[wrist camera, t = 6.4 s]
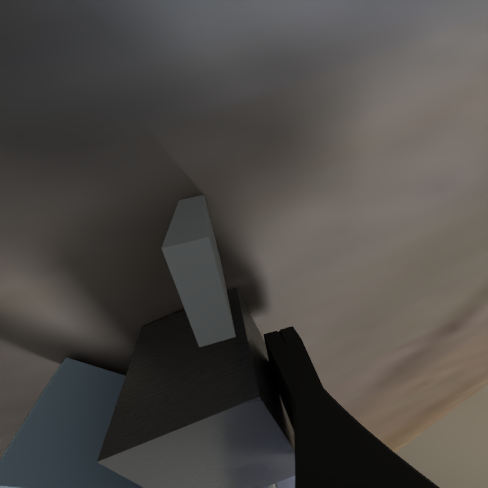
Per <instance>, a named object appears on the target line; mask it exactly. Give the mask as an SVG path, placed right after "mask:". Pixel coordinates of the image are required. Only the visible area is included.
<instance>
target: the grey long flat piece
mask: <svg viewBox="0 0 488 488" xmlns="http://www.w3.org/2000/svg"><path fill="white" fill-rule="evenodd" d="M161 249H162V251H163V254H164V257H165V259H166V262H167V265H168V267H169V270H170V272H171V275H172V278H173V280H174V283H175V285H176V288H177V291H178V293H179V296H180V298H181V301H182V304H183V306H184V309H185V311H186V314H187V317H188V319H189V322H190V324H191V327H192V330H193V332H194V335H195V337H196V340H197V343H198V345H199V347H202V346H206V345H209V344H213V343H216V342H220V341H223V340H227V339H230V338H234V337H236V335H235V330H234V325H233V320H232V315H231V310H230V305H229V300H228V295H227V290H226V285H225V280H224V275H223V270H222V265H221V259H220V255H219V252H218V248H217V244H216V240H215V236H214V232H213V228H212V224H211V221H210V217H209V213H208V209H207V205H206V201H205V197H204V195H200V196H195V197H191V198H186V199H182V200H179V201H178V204H177V207H176V210H175V212H174V215H173V218H172V221H171V223H170V226H169V229H168V231H167V234H166V237H165V240H164V242H163V245H162V248H161ZM268 488H278V485H277V483H275V484H272V485H270V486H268Z"/></svg>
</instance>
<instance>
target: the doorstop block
mask: <svg viewBox="0 0 488 488" xmlns="http://www.w3.org/2000/svg"><path fill="white" fill-rule="evenodd" d="M227 295H228V300H229V305H230V310H231V315H232V320H233V325H234V330H235V335H236V337H234V338H230V339H227V340H223V341H220V342H216V343H213V344H209V345H206V346H202V347H199V345H198V343H197V340H196V337H195V335H194V332H193V330H192V327H191V324H190V322H189V319H188V317H187V314H186V311H185V309H184V310H182V311H179V312H177V313H175V314H172V315H170V316H167V317H165V318H163V319H160V320H158V321H155V322H153V323H151V324H148V325H146V326H143V327H142V329H141V332H140V335H139V338H138V341H137V344H136V347H135V350H134V353H133V356H132V359H131V362H130V365H129V368H128V371H127V374H126V377H125V380H124V383H123V386H122V389H121V392H120V395H119V397H118V400H117V403H116V406H115V409H114V412H113V415H112V418H111V421H110V424H109V427H108V430H107V433H106V436H105V439H104V442H103V445H102V448H101V451H100V454H99V457H98V460H97V462H98V463H99V464H101V465H103V466H105V467H107V468H109V469H110V470H112V471H114V472H116V473H118V474H120V475H121V476H123V477H125V478H127V479H129V480H131V481H132V482H134V483H136V484H138V485H140V486H142V487H143V488H265V487H267V486H270V485H272V484H275V483H277V482H280V481H283V480H285V479H288V478H290V477H293V476H295V442H294V430H293V428H292V425H291V423H290V420H289V418H288V415H287V413H286V410H285V408H284V405H283V403H282V400H281V398H280V395H279V392H278V389H277V386H276V384H275V380H274V377H273V374H272V371H271V367H270V364H269V360H268V355H267V350H266V344H265V342H264V340H263V338H262V336H261V334H260V332H259V330H258V329H257V327H256V325H255V323H254V321H253V319H252V317H251V315H250V313H249V311H248V309H247V307H246V305H245V303H244V301H243V299H242V297H241V295H240V293H239V291H238V289H237V288H235V289H232V290H230V291H228V292H227Z"/></svg>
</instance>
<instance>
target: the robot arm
mask: <svg viewBox="0 0 488 488" xmlns="http://www.w3.org/2000/svg"><path fill="white" fill-rule="evenodd" d="M264 339H265V344H266V350H267V355H268V360H269V364H270V367H271V371H272V374H273V377H274V380H275V384H276V386H277V389H278V392H279V395H280V398H281V400H282V403H283V405H284V408H285V410H286V413H287V415H288V418H289V420H290V423H291V425H292V428H293V430H294V442H295V476H293V477H290V478H288V479H285V480H283V481H280V482H277V485H278V488H439V487H438V486H436V485H435V484H434V483H433V482H431V481H430V480H429V479H427V478H426V477H425V476H423V475H422V474H421V473H419V472H418V471H417V470H416V469H414V468H413V467H412V466H411V465H409V464H408V463H407V462H406V461H404V460H403V459H402V458H400V457H399V456H398V455H397V454H395V453H394V452H393V451H392V450H391V449H389V448H388V447H387V446H386V445H385V444H384V443H382V442H381V441H380V440H379V439H378V438H376V437H375V436H374V435H373V434H372V433H370V432H369V431H368V430H367V429H366V428H365V427H363V426H362V425H361V424H360V423H359V422H358V421H357V420H356V419H355V418H354V417H352V416H351V415H350V414H349V413H348V412H347V411H346V410H345V409H344V408H343V407H342V406H341V405H340V404H339V403H338V402H337V401H336V400H335V399H334V398H333V397H332V396H331V395H330V394H329V393H328V392H327V391H326V390H325V389H324V388H323V386H322V384H321V382H320V379H319V377H318V375H317V373H316V371H315V368H314V366H313V364H312V362H311V359H310V357H309V355H308V353H307V351H306V348H305V346H304V344H303V342H302V340H301V338H300V337H299V335H298V333H297V332H296V330H295V329H294V327H293V326H292V327H288V328H285V329H281V330H280V331H279V332H277V331H274V332H271V333H267V334H264Z"/></svg>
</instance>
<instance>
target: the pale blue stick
mask: <svg viewBox="0 0 488 488" xmlns="http://www.w3.org/2000/svg"><path fill="white" fill-rule="evenodd" d="M125 377H126V376H125V375H121V374H118V373H115V372H112V371H108V370H105V369H102V368H99V367H95V366H92V365H89V364H86V363H83V362H79V361H76V360H73V359H70V358H65V360H64V361H63V362H62V364H61V365H60V366H59V368H58V369H57V370H56V372H55V374H54V375H53V377H52V378H51V380H50V381H49V383H48V385H47V386H46V388H45V389H44V391H43V392H42V394H41V396H40V397H39V399H38V400H37V402H36V403H35V405H34V407H33V408H32V410H31V411H30V413H29V414H28V416H27V418H26V419H25V421H24V422H23V424H22V425H21V427H20V429H19V430H18V432H17V433H16V435H15V436H14V438H13V440H12V441H11V443H10V444H9V446H8V447H7V449H6V451H5V452H4V454H3V455H2V457H1V458H0V488H143V487H142V486H140V485H138V484H136V483H134V482H132V481H131V480H129V479H127V478H125V477H123V476H121V475H120V474H118V473H116V472H114V471H112V470H110V469H109V468H107V467H105V466H103V465H101V464H99V463H98V462H97V460H98V457H99V454H100V451H101V448H102V445H103V442H104V439H105V436H106V433H107V430H108V427H109V424H110V421H111V418H112V415H113V412H114V409H115V406H116V403H117V400H118V397H119V395H120V392H121V389H122V386H123V383H124V380H125ZM265 488H268V486H267V487H265Z"/></svg>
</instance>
